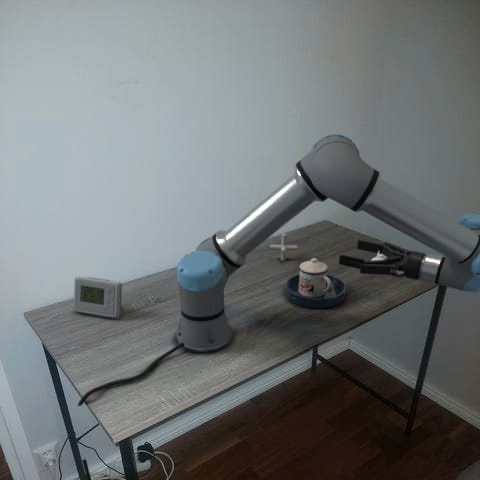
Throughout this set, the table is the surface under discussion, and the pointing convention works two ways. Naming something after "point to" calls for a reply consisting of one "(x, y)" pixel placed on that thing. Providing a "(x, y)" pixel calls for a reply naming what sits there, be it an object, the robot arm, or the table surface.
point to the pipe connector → (283, 247)
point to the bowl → (327, 300)
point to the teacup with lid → (313, 278)
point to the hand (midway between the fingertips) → (349, 251)
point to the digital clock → (97, 297)
